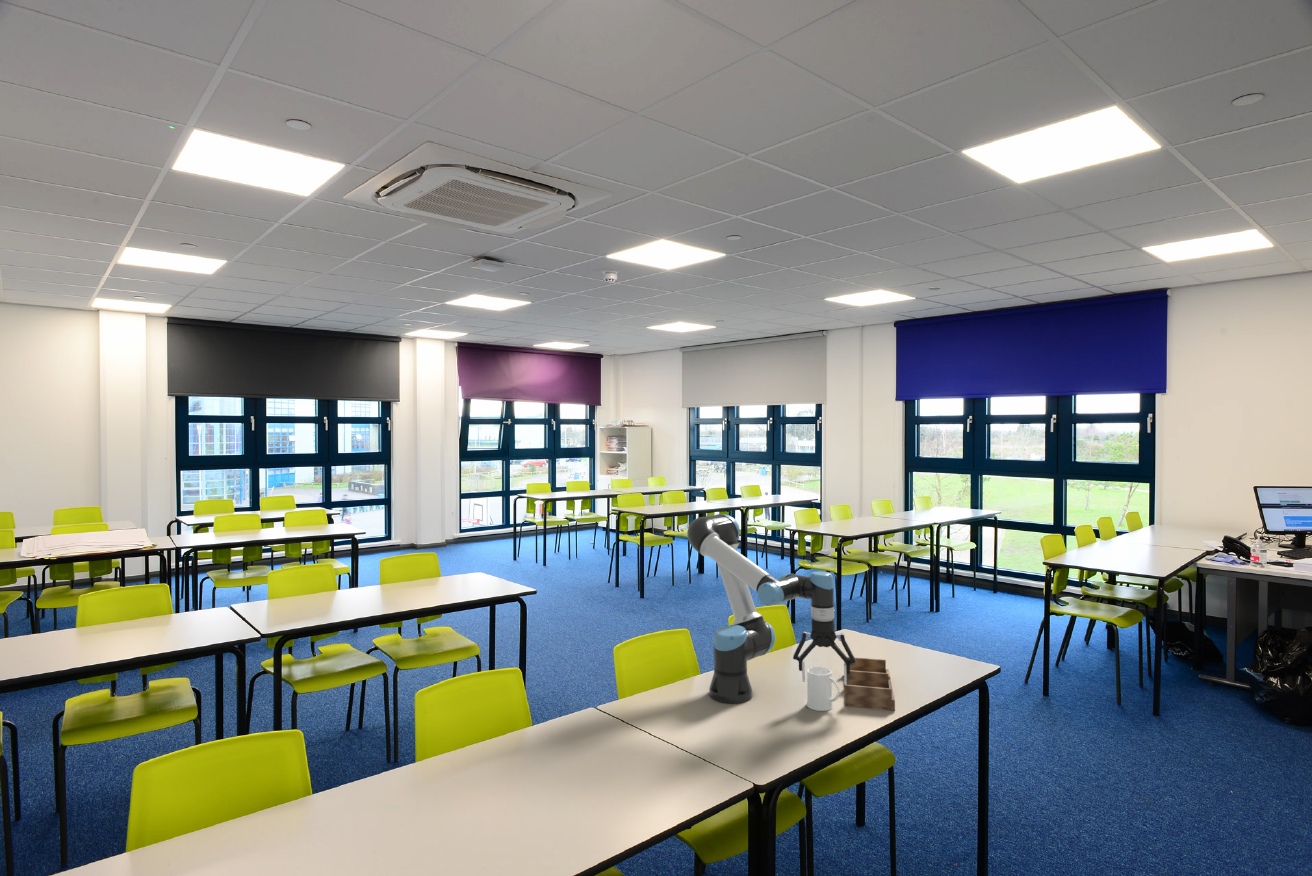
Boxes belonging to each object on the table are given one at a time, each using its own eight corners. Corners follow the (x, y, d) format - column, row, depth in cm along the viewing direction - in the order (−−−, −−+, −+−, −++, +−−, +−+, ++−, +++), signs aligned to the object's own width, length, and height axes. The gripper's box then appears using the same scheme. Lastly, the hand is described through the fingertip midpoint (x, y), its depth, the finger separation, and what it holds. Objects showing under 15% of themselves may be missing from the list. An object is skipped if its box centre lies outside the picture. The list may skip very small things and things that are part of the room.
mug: (846, 709, 223) (845, 674, 222) (829, 716, 217) (829, 680, 217) (817, 698, 232) (817, 664, 232) (801, 705, 227) (801, 670, 227)
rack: (845, 705, 226) (844, 685, 226) (844, 674, 255) (844, 656, 254) (895, 710, 221) (894, 689, 221) (888, 678, 250) (888, 659, 250)
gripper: (784, 619, 224) (786, 682, 224) (861, 623, 217) (863, 688, 217) (786, 614, 231) (787, 675, 231) (861, 617, 225) (862, 680, 225)
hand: (824, 681), depth 224 cm, fingers open, 13 cm apart
